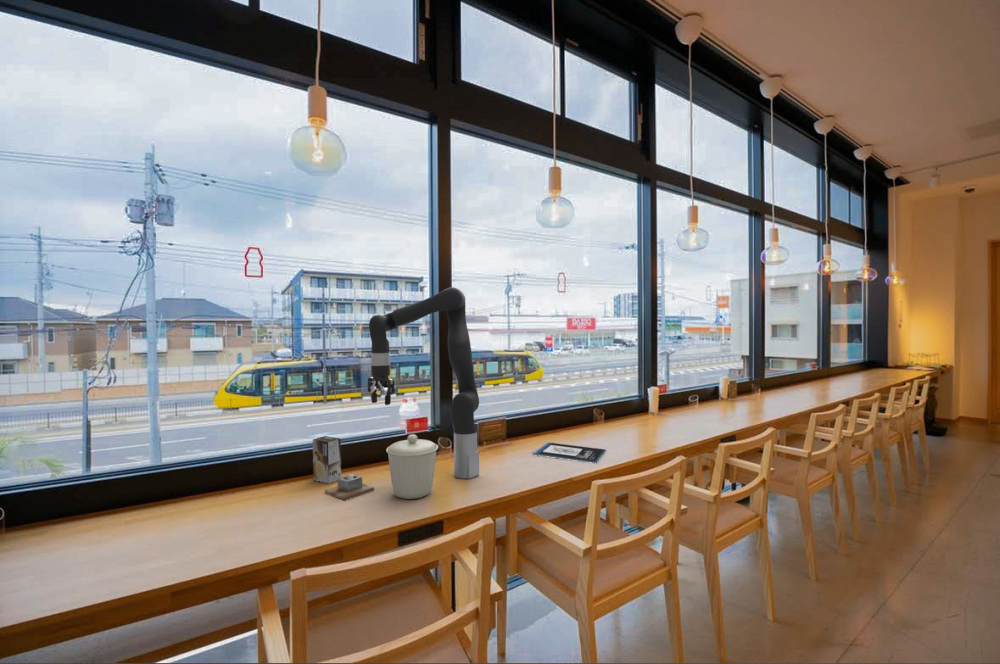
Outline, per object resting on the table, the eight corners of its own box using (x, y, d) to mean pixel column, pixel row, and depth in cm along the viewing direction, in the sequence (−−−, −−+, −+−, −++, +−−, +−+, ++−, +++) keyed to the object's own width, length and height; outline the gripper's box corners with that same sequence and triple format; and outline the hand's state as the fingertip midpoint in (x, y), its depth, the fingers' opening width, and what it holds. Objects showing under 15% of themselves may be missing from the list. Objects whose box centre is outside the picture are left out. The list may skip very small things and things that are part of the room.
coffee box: (342, 479, 170) (341, 438, 169) (328, 484, 164) (328, 441, 164) (325, 475, 174) (325, 435, 174) (312, 480, 168) (311, 439, 168)
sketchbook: (596, 465, 188) (596, 460, 187) (531, 456, 200) (531, 452, 200) (606, 451, 207) (605, 447, 207) (546, 445, 220) (546, 440, 220)
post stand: (374, 490, 158) (374, 473, 158) (344, 500, 148) (344, 483, 148) (354, 483, 165) (354, 467, 165) (325, 492, 155) (325, 476, 155)
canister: (427, 506, 143) (427, 442, 143) (377, 501, 147) (376, 439, 147) (445, 486, 161) (444, 429, 161) (399, 483, 165) (399, 427, 164)
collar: (362, 488, 157) (362, 477, 157) (347, 493, 152) (347, 481, 152) (352, 484, 161) (352, 473, 161) (337, 489, 156) (337, 478, 156)
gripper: (399, 364, 176) (399, 404, 176) (377, 362, 184) (377, 400, 184) (384, 365, 170) (384, 406, 170) (362, 363, 178) (362, 403, 178)
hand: (380, 403), depth 177 cm, fingers open, 8 cm apart
